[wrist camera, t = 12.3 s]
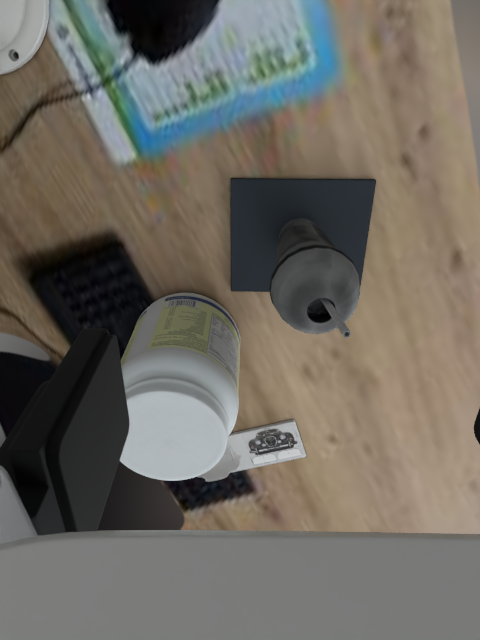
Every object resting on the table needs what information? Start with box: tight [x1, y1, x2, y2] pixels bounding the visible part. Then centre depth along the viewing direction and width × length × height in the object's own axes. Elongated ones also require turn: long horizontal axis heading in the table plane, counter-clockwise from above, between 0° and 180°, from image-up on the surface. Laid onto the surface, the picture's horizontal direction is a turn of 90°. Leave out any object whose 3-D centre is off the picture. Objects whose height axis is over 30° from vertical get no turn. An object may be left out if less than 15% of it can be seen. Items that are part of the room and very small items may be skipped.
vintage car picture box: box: [197, 419, 307, 481], centre depth 60 cm, size 15×7×4 cm, turn 107°
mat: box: [231, 178, 376, 292], centre depth 47 cm, size 14×12×1 cm
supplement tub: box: [120, 293, 240, 481], centre depth 46 cm, size 12×12×17 cm
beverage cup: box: [269, 218, 360, 338], centre depth 38 cm, size 7×7×20 cm
